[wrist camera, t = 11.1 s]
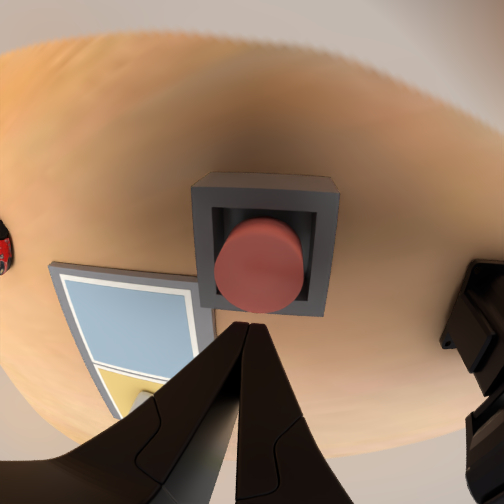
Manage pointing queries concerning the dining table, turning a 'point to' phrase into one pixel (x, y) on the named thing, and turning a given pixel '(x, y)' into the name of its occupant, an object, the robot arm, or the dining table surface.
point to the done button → (260, 265)
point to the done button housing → (274, 205)
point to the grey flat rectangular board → (132, 327)
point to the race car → (4, 249)
